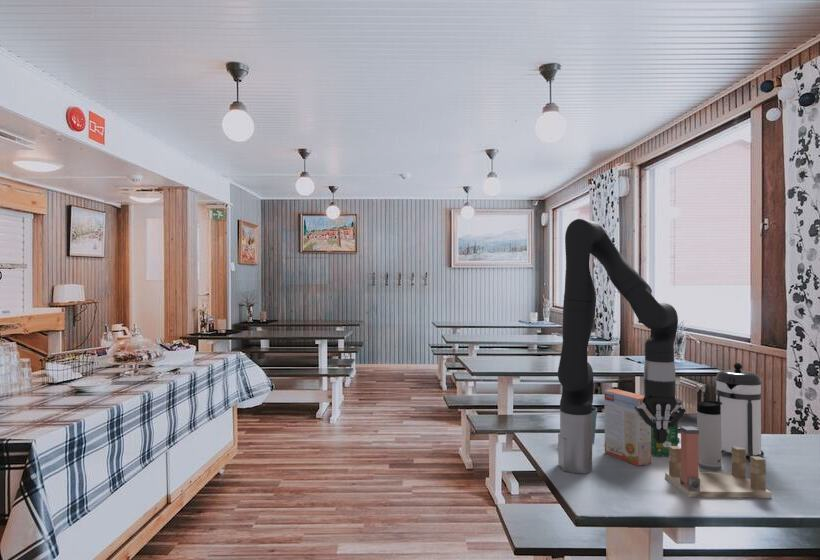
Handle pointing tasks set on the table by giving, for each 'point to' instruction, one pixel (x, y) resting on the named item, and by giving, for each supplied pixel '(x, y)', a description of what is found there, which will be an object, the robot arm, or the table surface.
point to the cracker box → (626, 428)
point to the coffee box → (671, 440)
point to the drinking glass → (593, 422)
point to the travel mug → (709, 434)
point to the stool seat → (722, 477)
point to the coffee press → (740, 410)
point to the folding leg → (689, 453)
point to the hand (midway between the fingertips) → (660, 442)
